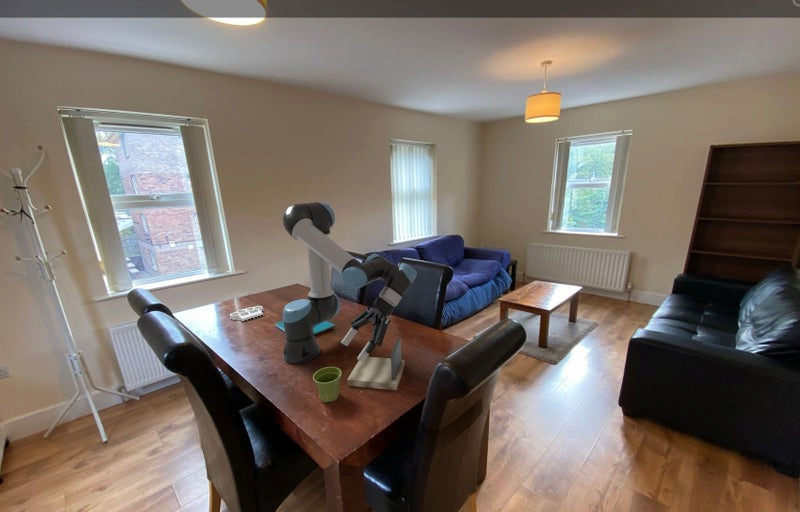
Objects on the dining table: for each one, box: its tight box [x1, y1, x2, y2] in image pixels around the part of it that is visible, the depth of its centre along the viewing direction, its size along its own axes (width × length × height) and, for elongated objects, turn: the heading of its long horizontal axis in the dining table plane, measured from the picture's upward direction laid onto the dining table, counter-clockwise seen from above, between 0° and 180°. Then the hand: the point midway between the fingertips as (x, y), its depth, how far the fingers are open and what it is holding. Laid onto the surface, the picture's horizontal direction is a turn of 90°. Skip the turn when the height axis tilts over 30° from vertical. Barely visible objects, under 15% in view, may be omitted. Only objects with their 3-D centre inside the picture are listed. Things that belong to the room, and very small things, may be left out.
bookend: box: [390, 338, 402, 380], centre depth 115 cm, size 1×12×10 cm, turn 169°
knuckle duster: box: [229, 305, 264, 322], centre depth 180 cm, size 3×18×15 cm
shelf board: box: [347, 356, 406, 391], centre depth 118 cm, size 18×16×2 cm
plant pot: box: [312, 366, 342, 403], centre depth 105 cm, size 9×9×9 cm
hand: (351, 352), depth 108 cm, fingers open, 13 cm apart
